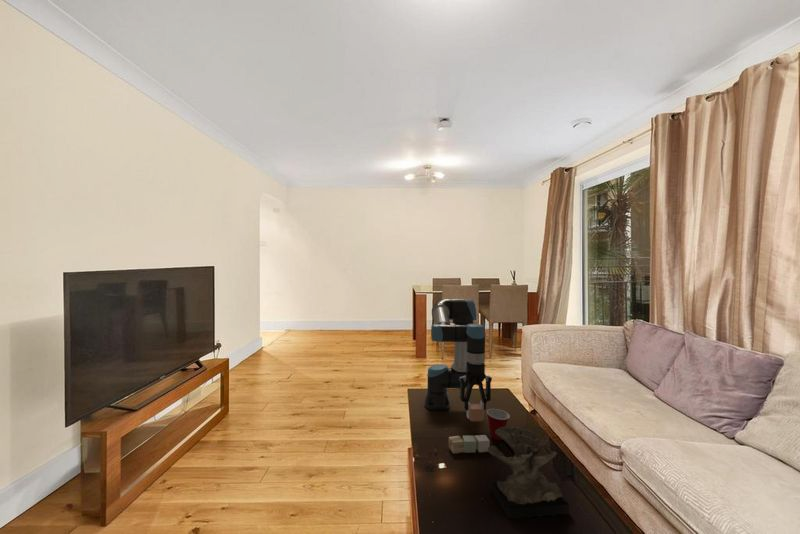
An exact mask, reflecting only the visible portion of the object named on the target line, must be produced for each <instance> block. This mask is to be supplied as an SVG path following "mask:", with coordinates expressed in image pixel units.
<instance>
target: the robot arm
mask: <svg viewBox="0 0 800 534" xmlns="http://www.w3.org/2000/svg"><path fill="white" fill-rule="evenodd" d="M431 316H432V318H433V321H434V323H433V324H431V327H430V329H431V330H430V331H431V332H430V335H431V338H430V339H431V341H432V342H437V343H454V353H453V363H452V364H451V366H450V367H448V366H447V365H446V364H443V363H440V364H433V365H431V366H429V367H428V368H427V374H426V377H427V384H426V385H427V388H426V389H427V391H426V395H425V398H424V402H423V403H424V405H423V406H424V407H425V409H428V410H431V411H435V412H442V410H443V411H446V410H448V409H450V408H449V407H451V401H450V397H449V395H448V389H449V390H451V389H452V390H459V399H460V401H461V402H463V403H464V405H463V406H464V411H466V418H467V419H468V420H470V404H471V403H470V397H471V394H472V390H473V388H474V386H475V385H476V386H477V387H478V390H479V394H480V398H481V400H479V404H480V406H481V407H482V408H483V420H484V418H485V417H484V416H485V415H484V414H485V413H484V411H487V403H488V402H490V401H491V396H492V395H491V393H492V392H491V390H492V389H491V384H492V380H493V379H492V376H490V375H486V373H485V372H486V363H485V361H486V335H487V334H486V327H485V326H484V324H483V325H482V324H478V323H474V321H476V320H477V316H478V315H477V309H476V303H475V301H474V300H473V299H467V298H444V299H441V300H439V301H437V302H436V303H434V304H433V306H432V307H431ZM451 321H452V324H451ZM484 380H485V390H484V384H483V382H484Z"/></svg>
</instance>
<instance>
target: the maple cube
mask: <svg viewBox="0 0 800 534" xmlns="http://www.w3.org/2000/svg"><path fill="white" fill-rule="evenodd" d="M448 449H449V450H450V451H451V453H452V454H453V455H455V454H459V453H465V452H464V441H463V438H461V436H460V435H453V436H448Z"/></svg>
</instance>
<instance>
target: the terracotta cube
mask: <svg viewBox="0 0 800 534" xmlns="http://www.w3.org/2000/svg"><path fill="white" fill-rule="evenodd" d="M469 420H470V422H483V421H484V419H483V408H482V407H481V406H480V403H470V419H469Z"/></svg>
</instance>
